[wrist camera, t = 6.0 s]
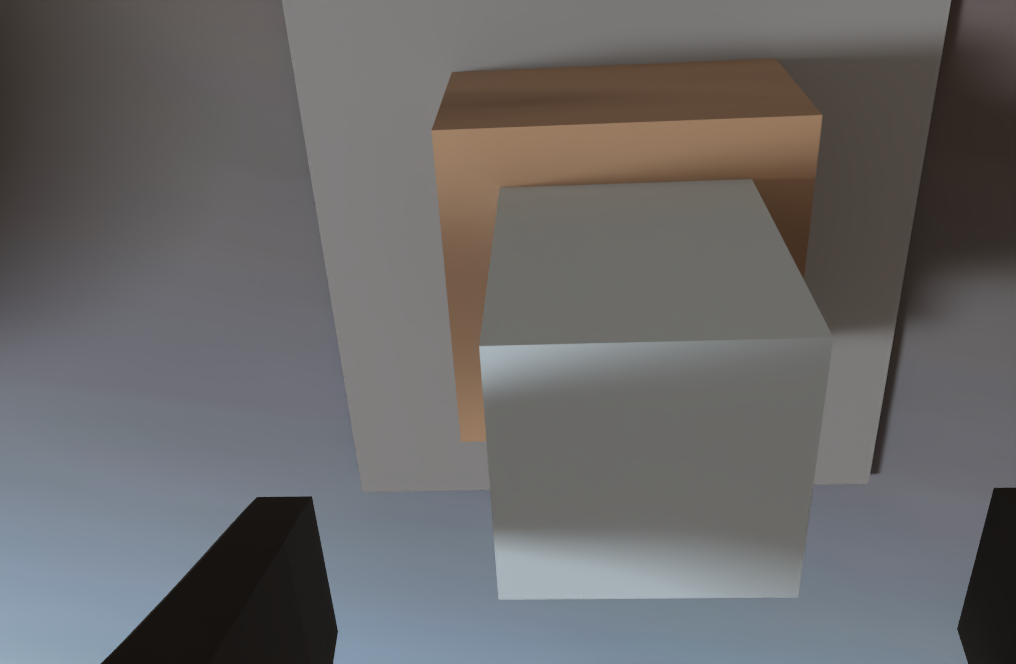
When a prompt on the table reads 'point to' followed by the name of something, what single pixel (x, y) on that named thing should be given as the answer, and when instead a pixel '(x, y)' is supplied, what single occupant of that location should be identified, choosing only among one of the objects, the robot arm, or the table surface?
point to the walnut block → (607, 158)
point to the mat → (580, 43)
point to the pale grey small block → (649, 393)
